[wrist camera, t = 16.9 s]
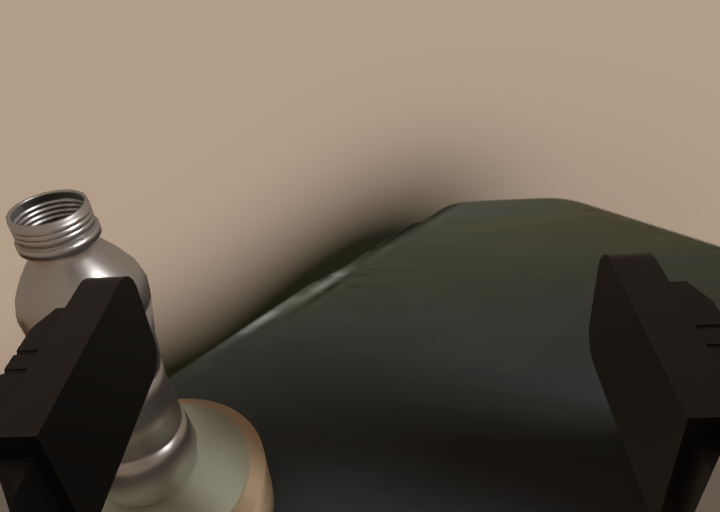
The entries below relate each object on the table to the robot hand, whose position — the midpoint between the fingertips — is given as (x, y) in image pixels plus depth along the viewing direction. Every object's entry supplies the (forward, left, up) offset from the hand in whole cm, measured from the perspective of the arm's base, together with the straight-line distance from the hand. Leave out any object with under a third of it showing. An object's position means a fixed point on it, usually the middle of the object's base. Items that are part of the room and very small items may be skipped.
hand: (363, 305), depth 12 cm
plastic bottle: (-3, -24, -28) cm, 37 cm away
